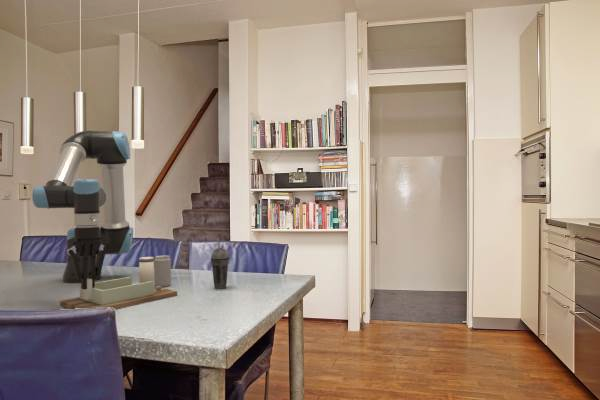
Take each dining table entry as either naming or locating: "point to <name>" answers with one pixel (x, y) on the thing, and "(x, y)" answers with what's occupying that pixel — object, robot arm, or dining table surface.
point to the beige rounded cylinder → (146, 269)
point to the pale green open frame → (118, 291)
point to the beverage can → (162, 271)
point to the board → (158, 294)
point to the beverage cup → (220, 267)
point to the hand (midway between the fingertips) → (88, 298)
